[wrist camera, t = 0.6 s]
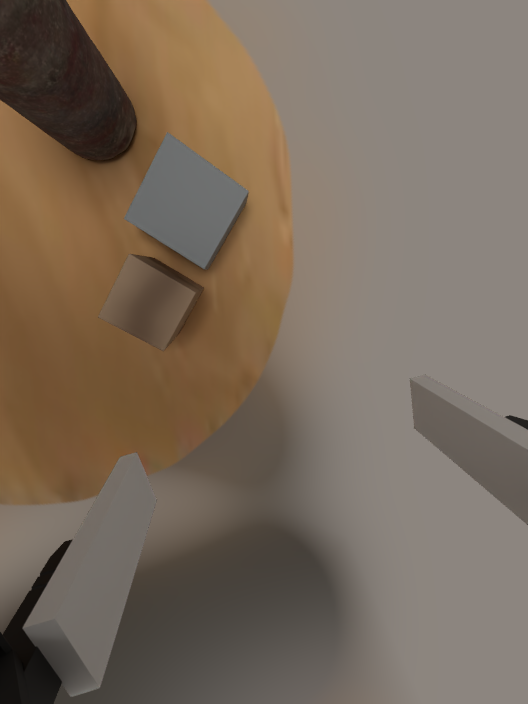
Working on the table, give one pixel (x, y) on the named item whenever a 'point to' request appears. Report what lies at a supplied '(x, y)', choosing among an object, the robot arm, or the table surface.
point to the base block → (187, 203)
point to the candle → (62, 79)
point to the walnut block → (150, 300)
